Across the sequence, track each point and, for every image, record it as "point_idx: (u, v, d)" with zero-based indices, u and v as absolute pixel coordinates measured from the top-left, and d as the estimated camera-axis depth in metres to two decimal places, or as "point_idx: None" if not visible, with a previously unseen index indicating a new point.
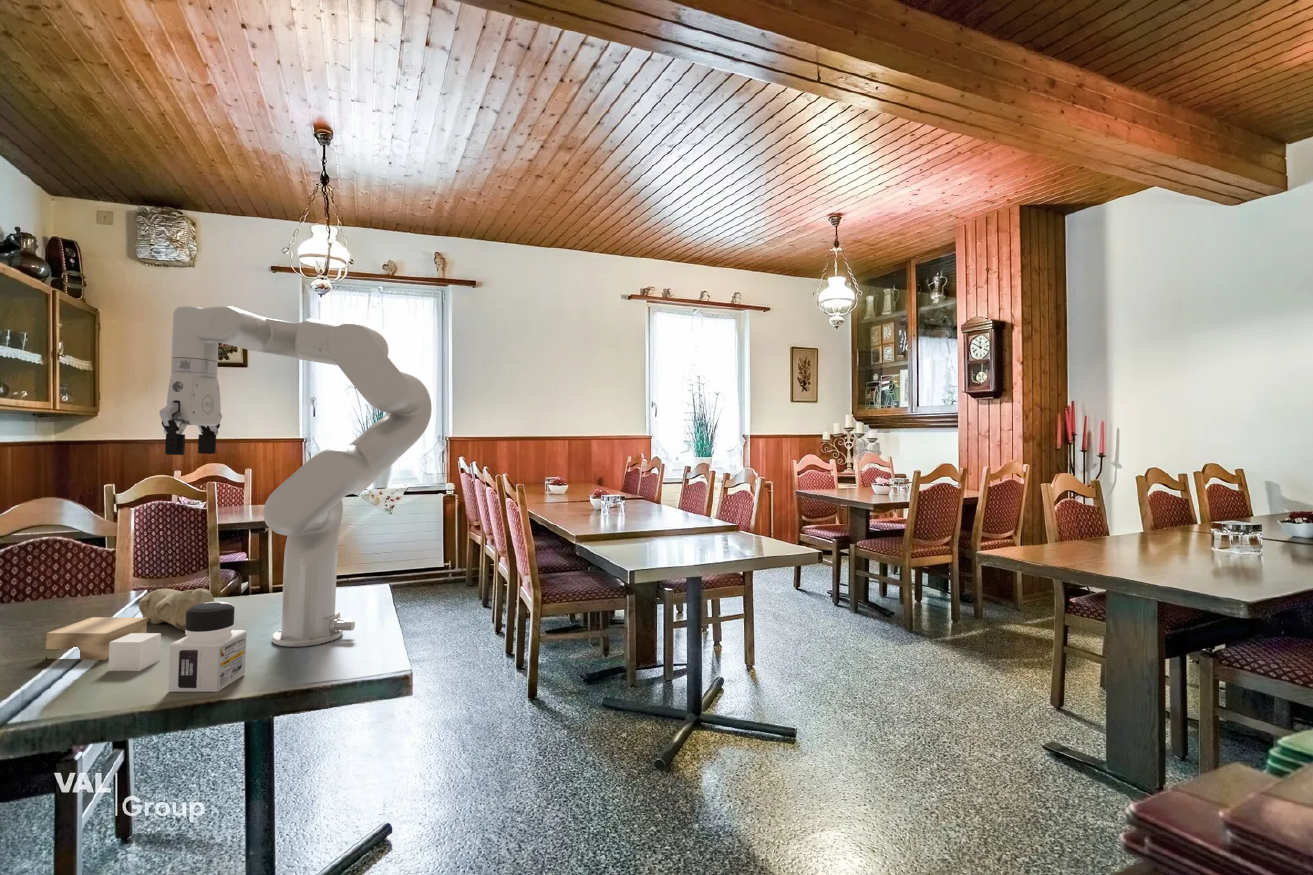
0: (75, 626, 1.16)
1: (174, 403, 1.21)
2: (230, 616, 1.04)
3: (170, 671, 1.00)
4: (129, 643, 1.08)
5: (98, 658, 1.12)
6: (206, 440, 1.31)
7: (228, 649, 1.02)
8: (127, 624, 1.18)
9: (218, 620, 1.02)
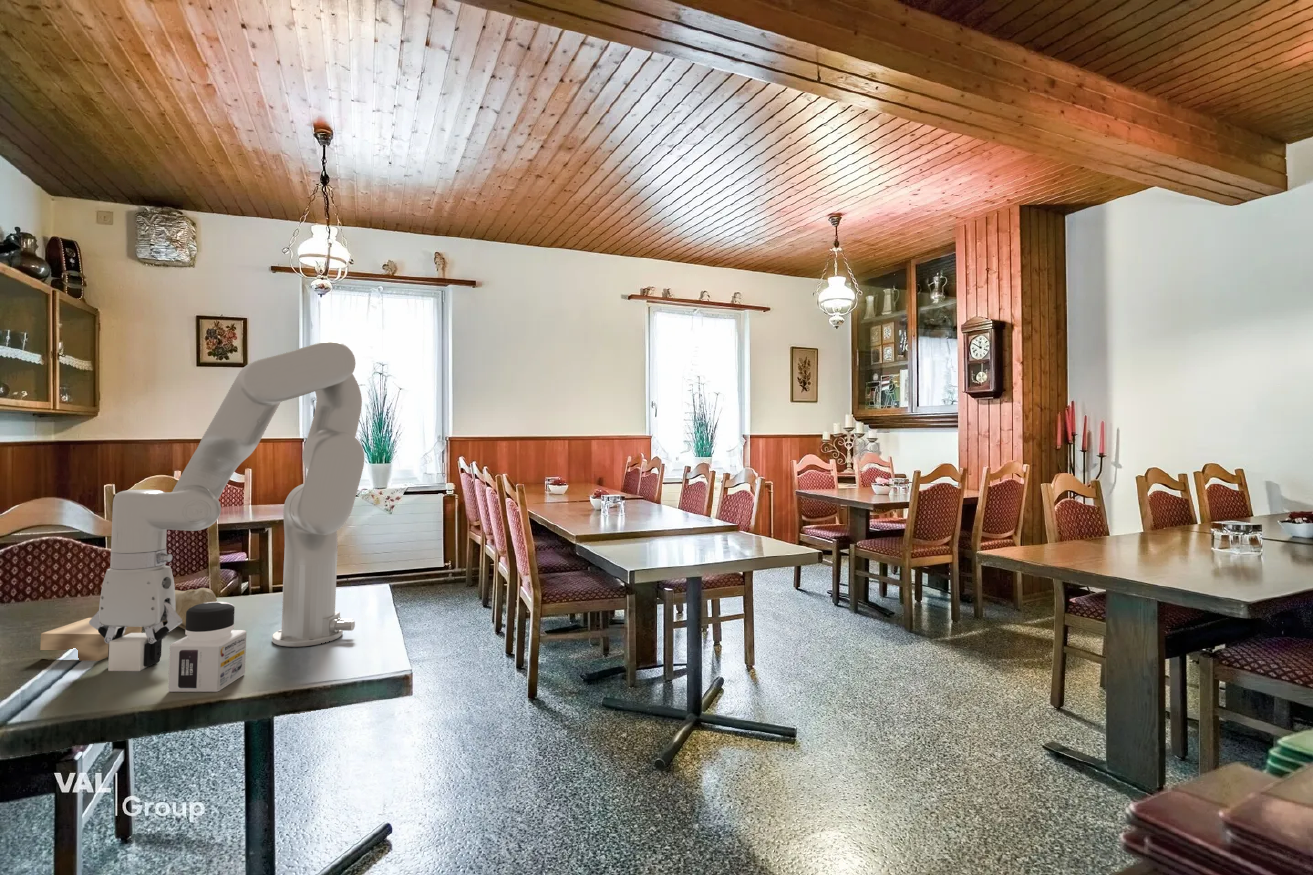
0: (70, 626, 1.15)
1: (168, 606, 1.11)
2: (230, 616, 1.04)
3: (170, 671, 1.00)
4: (129, 643, 1.08)
5: (92, 659, 1.12)
6: None
7: (228, 649, 1.02)
8: None
9: (218, 620, 1.02)
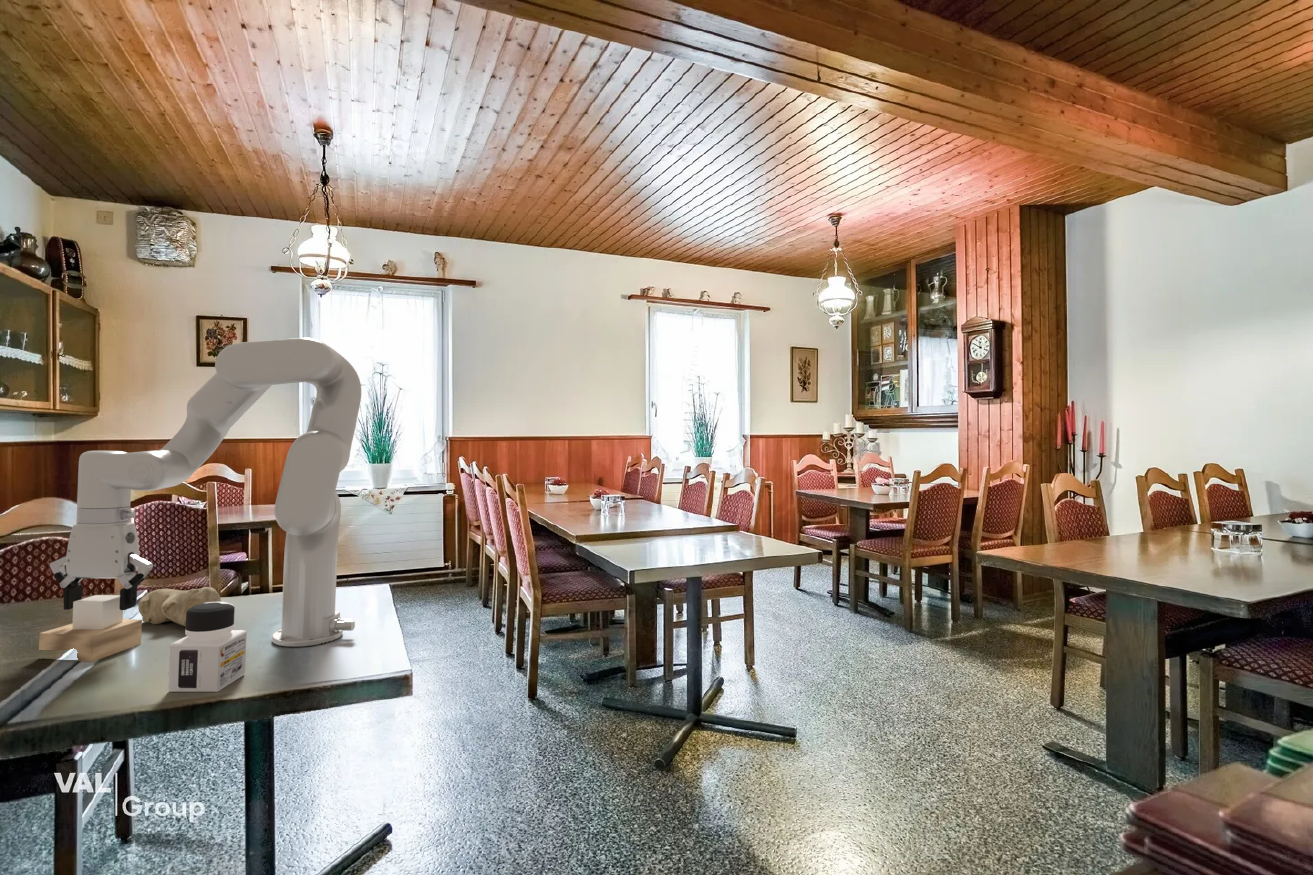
0: (70, 626, 1.16)
1: (134, 555, 1.18)
2: (230, 616, 1.04)
3: (170, 671, 1.00)
4: (92, 603, 1.15)
5: (86, 660, 1.11)
6: (76, 592, 1.17)
7: (228, 649, 1.02)
8: (119, 626, 1.17)
9: (218, 620, 1.02)
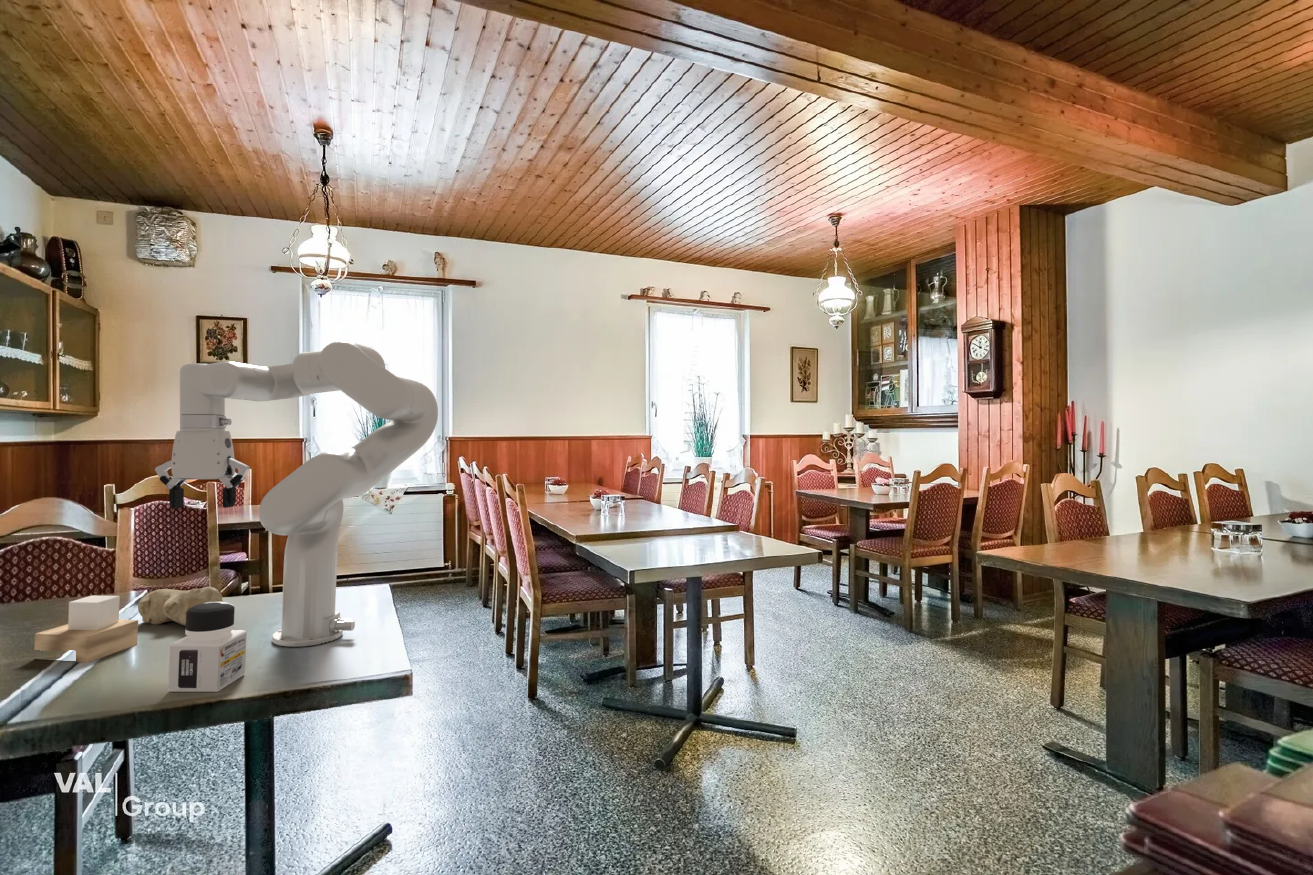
0: (66, 627, 1.15)
1: (232, 459, 1.30)
2: (230, 616, 1.04)
3: (170, 671, 1.00)
4: (88, 603, 1.14)
5: (81, 661, 1.11)
6: (179, 494, 1.28)
7: (228, 649, 1.02)
8: (115, 627, 1.16)
9: (218, 620, 1.02)
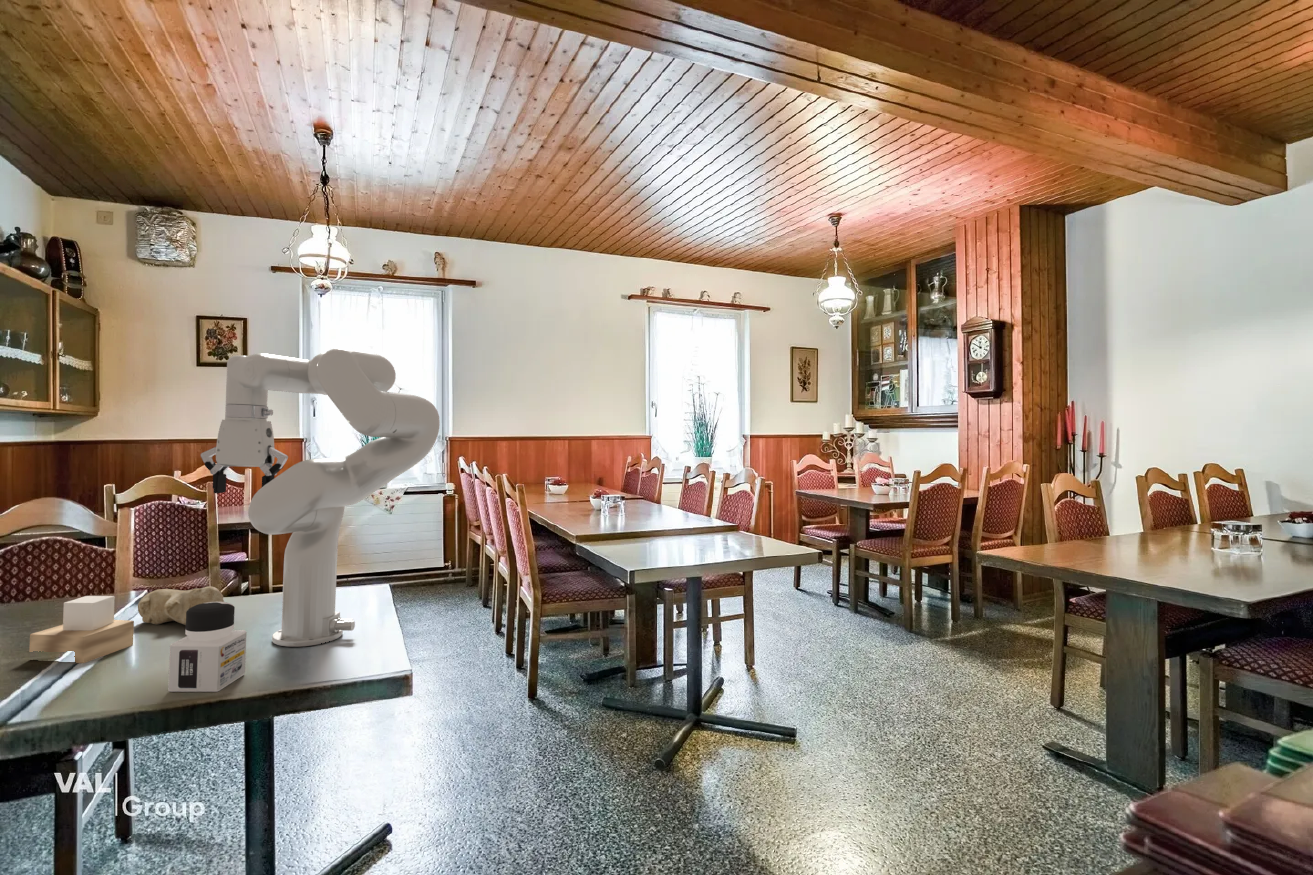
0: (61, 627, 1.15)
1: (272, 448, 1.35)
2: (230, 616, 1.04)
3: (170, 671, 1.00)
4: (83, 604, 1.14)
5: (76, 662, 1.11)
6: (222, 480, 1.34)
7: (228, 649, 1.02)
8: (110, 627, 1.16)
9: (218, 620, 1.02)
